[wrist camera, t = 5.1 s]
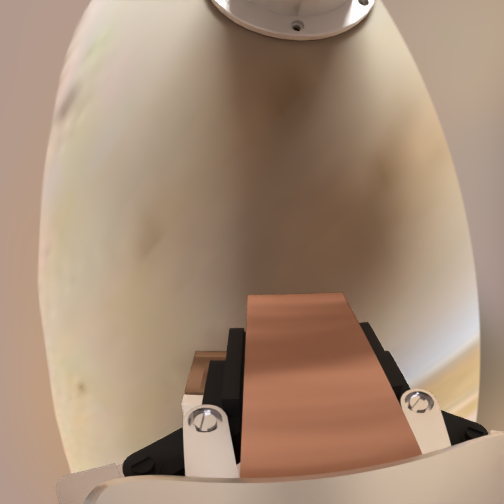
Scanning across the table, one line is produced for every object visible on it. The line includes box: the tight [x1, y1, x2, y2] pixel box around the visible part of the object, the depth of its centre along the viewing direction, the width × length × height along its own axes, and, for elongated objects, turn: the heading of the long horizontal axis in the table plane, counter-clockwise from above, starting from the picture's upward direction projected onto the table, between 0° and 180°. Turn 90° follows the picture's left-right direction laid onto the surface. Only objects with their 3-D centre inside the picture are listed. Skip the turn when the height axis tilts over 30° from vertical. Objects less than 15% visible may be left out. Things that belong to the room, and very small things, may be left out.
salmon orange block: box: [240, 292, 422, 478], centre depth 9 cm, size 4×4×10 cm
